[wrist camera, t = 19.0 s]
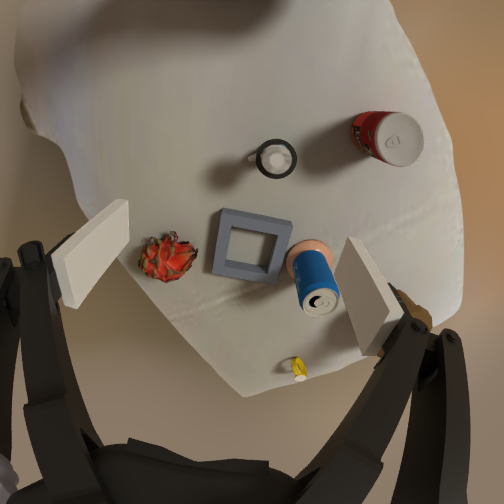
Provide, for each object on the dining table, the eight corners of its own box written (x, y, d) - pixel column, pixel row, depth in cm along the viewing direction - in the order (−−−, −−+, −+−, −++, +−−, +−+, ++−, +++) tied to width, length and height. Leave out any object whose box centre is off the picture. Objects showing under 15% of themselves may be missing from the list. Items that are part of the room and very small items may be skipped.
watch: (288, 356, 65) (289, 374, 59) (298, 352, 64) (299, 369, 58) (299, 368, 66) (300, 385, 61) (308, 364, 66) (310, 382, 60)
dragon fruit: (143, 247, 52) (199, 233, 52) (150, 288, 51) (208, 275, 51) (125, 239, 43) (189, 222, 44) (132, 287, 42) (199, 272, 43)
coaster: (292, 235, 48) (293, 237, 48) (338, 244, 49) (339, 246, 48) (280, 276, 53) (280, 278, 52) (323, 283, 53) (324, 286, 53)
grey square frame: (223, 207, 46) (221, 212, 44) (291, 221, 47) (292, 226, 45) (213, 266, 52) (211, 273, 50) (274, 277, 53) (275, 285, 50)
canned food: (340, 128, 39) (365, 133, 29) (373, 102, 36) (405, 101, 27) (367, 163, 42) (396, 179, 32) (398, 137, 39) (432, 146, 29)
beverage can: (297, 244, 48) (308, 283, 38) (330, 251, 49) (348, 289, 38) (287, 274, 51) (294, 316, 41) (319, 280, 52) (332, 321, 41)
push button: (253, 172, 43) (252, 188, 34) (243, 142, 41) (239, 149, 32) (292, 161, 42) (302, 174, 33) (284, 131, 40) (291, 135, 31)
